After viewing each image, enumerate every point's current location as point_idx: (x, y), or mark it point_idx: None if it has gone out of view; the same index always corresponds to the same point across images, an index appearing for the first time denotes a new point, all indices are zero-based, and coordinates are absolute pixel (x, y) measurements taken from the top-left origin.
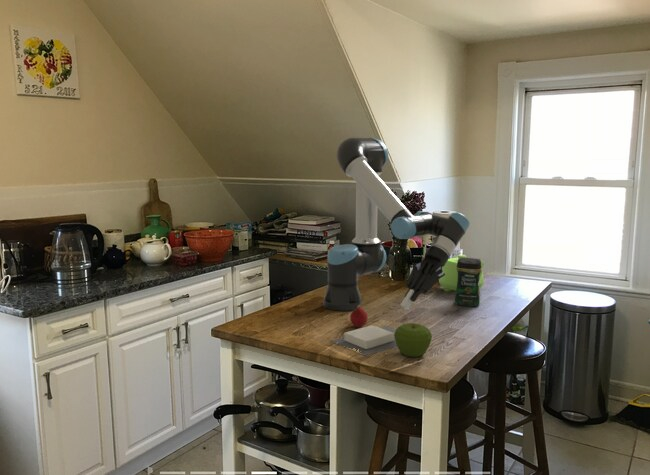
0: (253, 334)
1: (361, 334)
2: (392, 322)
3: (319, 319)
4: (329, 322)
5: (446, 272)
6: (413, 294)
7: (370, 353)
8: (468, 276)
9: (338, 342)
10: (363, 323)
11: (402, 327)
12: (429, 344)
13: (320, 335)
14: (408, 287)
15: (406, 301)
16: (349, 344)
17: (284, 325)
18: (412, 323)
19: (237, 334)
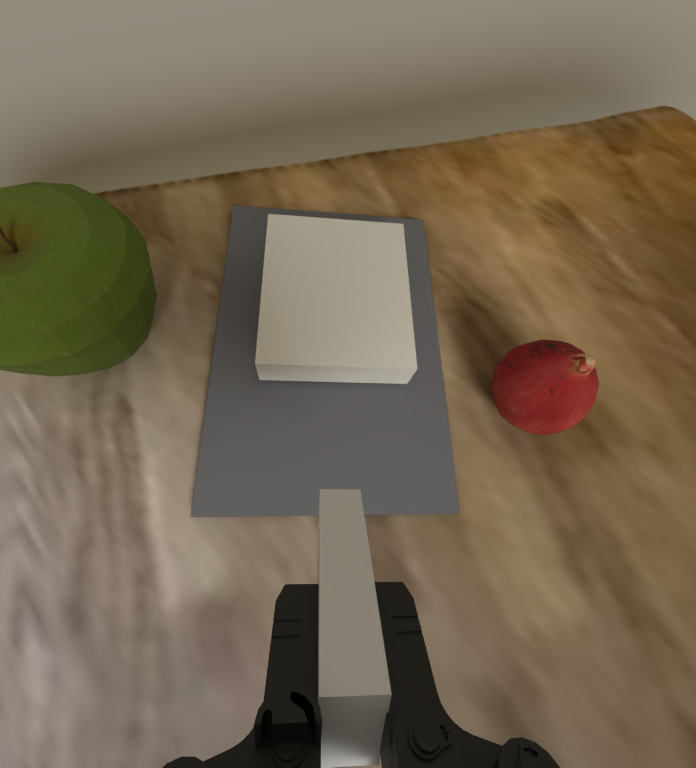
0: (603, 138)
1: (342, 252)
2: (510, 630)
3: (687, 358)
4: (634, 364)
5: None
6: (303, 651)
7: (234, 230)
8: None
9: None
10: (492, 391)
11: (58, 193)
12: None
13: (505, 249)
14: (481, 748)
15: (319, 526)
16: None
17: (655, 232)
18: (42, 276)
19: (619, 116)
